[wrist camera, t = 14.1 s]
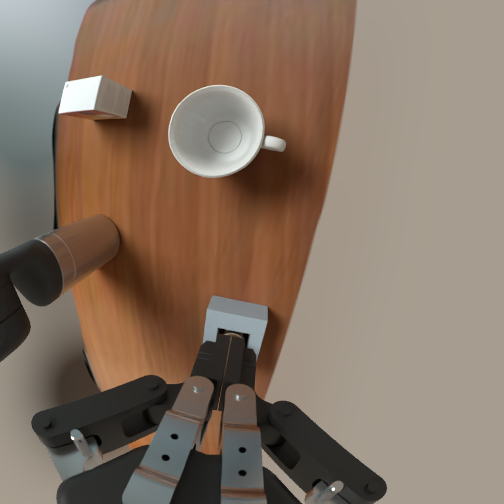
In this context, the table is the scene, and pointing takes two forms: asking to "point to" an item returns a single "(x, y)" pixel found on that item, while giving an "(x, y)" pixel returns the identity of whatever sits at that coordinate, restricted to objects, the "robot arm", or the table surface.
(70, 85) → the small box
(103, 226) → the robot arm
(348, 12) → the table surface
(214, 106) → the teacup
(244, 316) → the hole block
